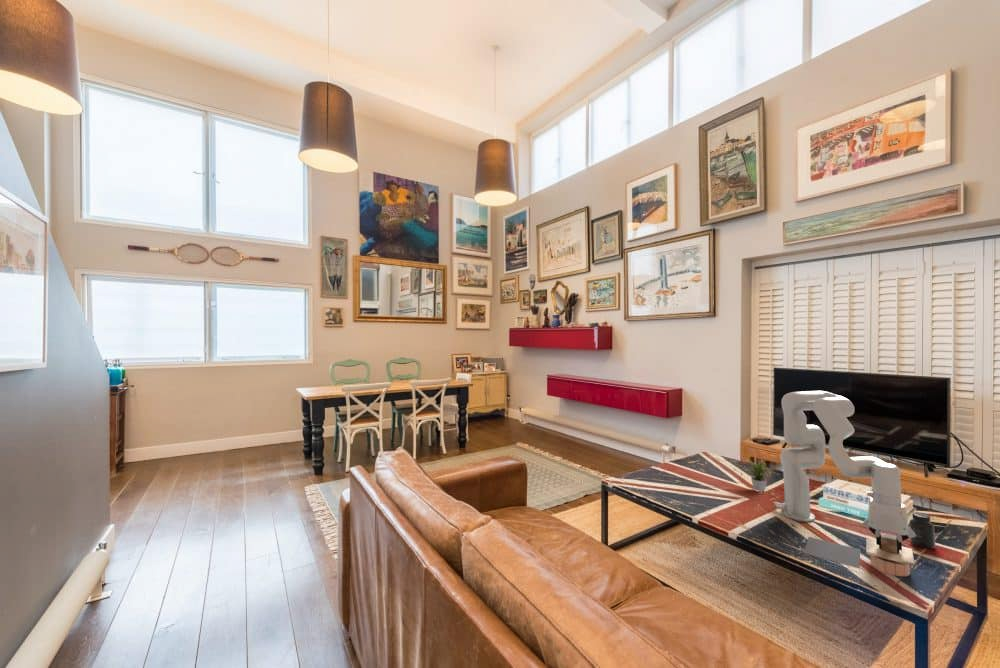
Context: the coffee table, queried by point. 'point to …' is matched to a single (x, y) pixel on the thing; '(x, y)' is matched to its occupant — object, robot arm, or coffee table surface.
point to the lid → (889, 550)
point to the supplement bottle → (922, 531)
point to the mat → (833, 552)
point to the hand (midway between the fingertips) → (889, 548)
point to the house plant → (758, 476)
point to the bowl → (890, 566)
